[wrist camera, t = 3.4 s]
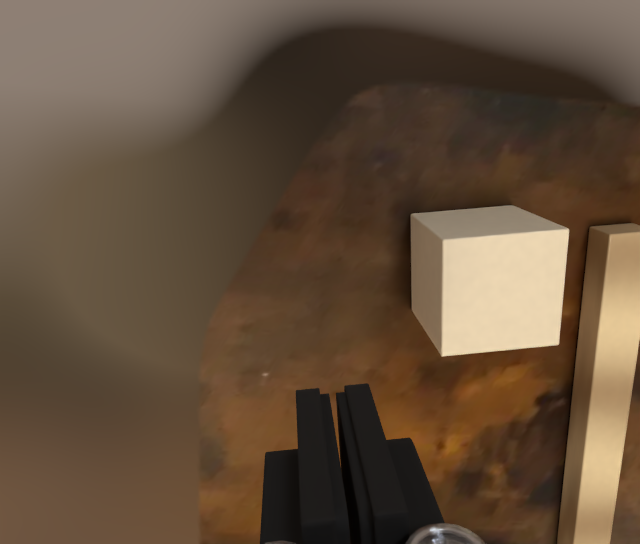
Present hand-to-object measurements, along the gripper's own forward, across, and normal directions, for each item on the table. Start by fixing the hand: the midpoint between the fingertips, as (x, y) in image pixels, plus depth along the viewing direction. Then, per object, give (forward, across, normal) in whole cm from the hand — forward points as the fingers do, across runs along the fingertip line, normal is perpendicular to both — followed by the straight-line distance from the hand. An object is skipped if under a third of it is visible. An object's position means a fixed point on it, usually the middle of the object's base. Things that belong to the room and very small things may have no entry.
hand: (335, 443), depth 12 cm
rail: (+12, -13, +14) cm, 23 cm away
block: (+11, -7, -1) cm, 13 cm away
